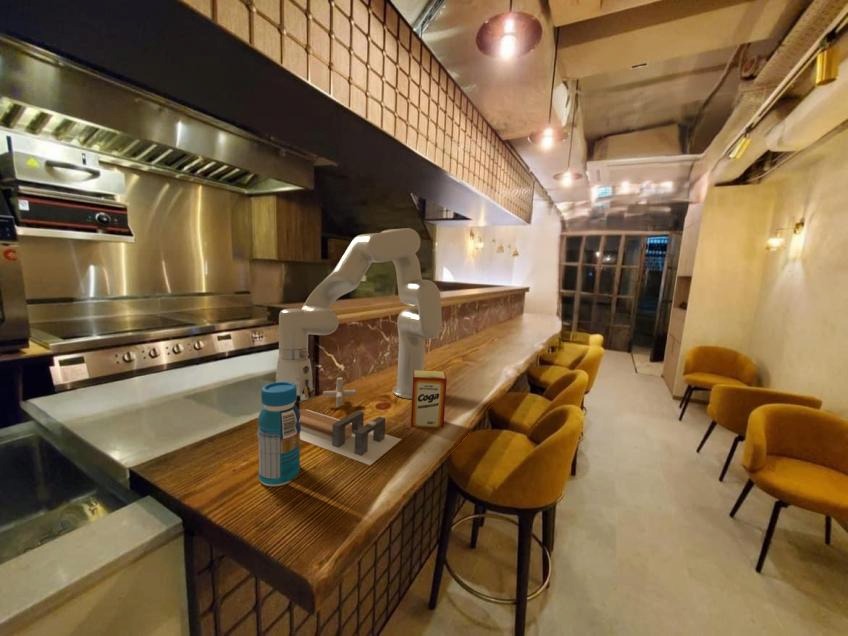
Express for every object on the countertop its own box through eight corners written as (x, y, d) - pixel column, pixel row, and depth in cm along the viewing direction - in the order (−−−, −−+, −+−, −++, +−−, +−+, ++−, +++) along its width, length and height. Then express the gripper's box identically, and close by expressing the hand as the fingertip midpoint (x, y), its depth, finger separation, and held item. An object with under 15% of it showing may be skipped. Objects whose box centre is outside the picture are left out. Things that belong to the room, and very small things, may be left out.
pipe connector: (322, 415, 102) (323, 384, 100) (323, 402, 111) (323, 373, 110) (356, 413, 104) (356, 382, 103) (353, 401, 114) (354, 373, 113)
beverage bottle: (253, 490, 67) (251, 394, 64) (263, 466, 75) (261, 380, 72) (298, 486, 69) (298, 393, 66) (302, 463, 77) (303, 379, 74)
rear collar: (357, 429, 92) (357, 410, 91) (363, 431, 91) (363, 411, 91) (332, 445, 83) (332, 424, 83) (338, 447, 82) (338, 426, 82)
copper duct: (293, 423, 94) (293, 412, 93) (302, 419, 96) (302, 408, 96) (343, 441, 86) (344, 429, 85) (351, 435, 89) (352, 424, 88)
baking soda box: (410, 429, 96) (413, 375, 94) (410, 419, 103) (413, 369, 100) (443, 430, 96) (446, 377, 94) (441, 420, 103) (444, 370, 101)
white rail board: (306, 412, 103) (306, 407, 103) (401, 442, 88) (401, 436, 88) (267, 430, 91) (267, 424, 91) (370, 469, 76) (370, 462, 76)
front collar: (378, 436, 89) (379, 414, 88) (384, 438, 88) (385, 416, 87) (354, 453, 80) (355, 429, 79) (361, 455, 79) (362, 431, 79)
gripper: (323, 355, 93) (322, 417, 96) (285, 346, 100) (285, 405, 102) (302, 360, 87) (301, 427, 89) (263, 351, 93) (263, 413, 96)
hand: (293, 415), depth 96 cm, fingers closed
